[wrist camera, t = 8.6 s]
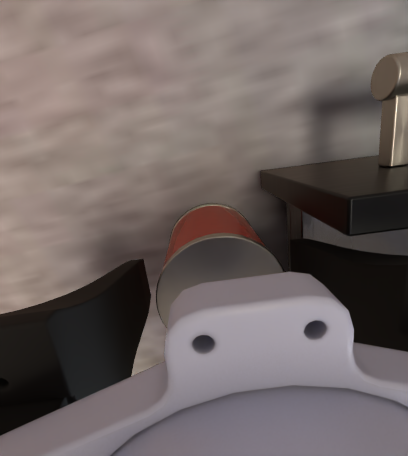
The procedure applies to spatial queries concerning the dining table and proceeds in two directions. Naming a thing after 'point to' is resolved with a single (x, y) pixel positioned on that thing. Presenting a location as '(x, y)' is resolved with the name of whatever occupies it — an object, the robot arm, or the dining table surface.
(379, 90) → the open drawer with handle
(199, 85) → the dining table surface
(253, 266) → the can
